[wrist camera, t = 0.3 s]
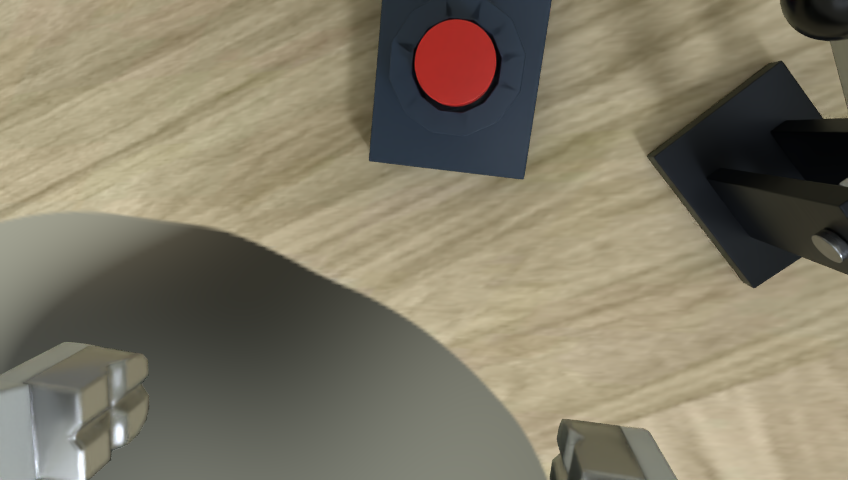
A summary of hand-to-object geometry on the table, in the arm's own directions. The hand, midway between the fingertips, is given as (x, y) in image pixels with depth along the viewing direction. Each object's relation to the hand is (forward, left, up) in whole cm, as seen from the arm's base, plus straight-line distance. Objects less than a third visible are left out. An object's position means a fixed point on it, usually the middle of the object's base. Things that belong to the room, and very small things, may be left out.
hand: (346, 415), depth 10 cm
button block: (-9, 0, -22) cm, 24 cm away
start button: (-9, 0, -19) cm, 21 cm away
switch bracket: (-5, +18, -22) cm, 29 cm away
